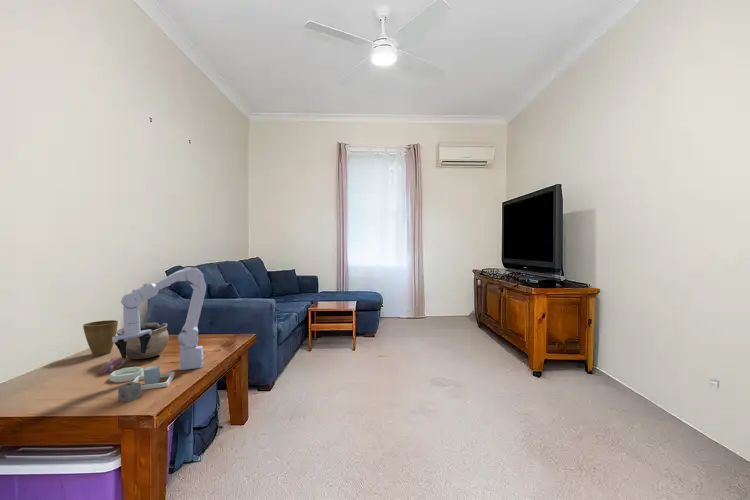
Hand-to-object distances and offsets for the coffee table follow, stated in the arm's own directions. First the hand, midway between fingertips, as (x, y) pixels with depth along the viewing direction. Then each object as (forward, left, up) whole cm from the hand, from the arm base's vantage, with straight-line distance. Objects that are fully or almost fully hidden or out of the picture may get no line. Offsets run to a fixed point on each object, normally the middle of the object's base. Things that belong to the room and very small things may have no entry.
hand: (133, 355), depth 165 cm
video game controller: (+13, -17, -10) cm, 23 cm away
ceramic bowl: (+5, -35, -10) cm, 36 cm away
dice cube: (-4, +23, -10) cm, 26 cm away
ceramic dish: (+4, -4, -10) cm, 11 cm away
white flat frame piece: (-8, +8, -10) cm, 15 cm away
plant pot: (+28, -52, -10) cm, 60 cm away
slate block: (-8, +8, -10) cm, 15 cm away
